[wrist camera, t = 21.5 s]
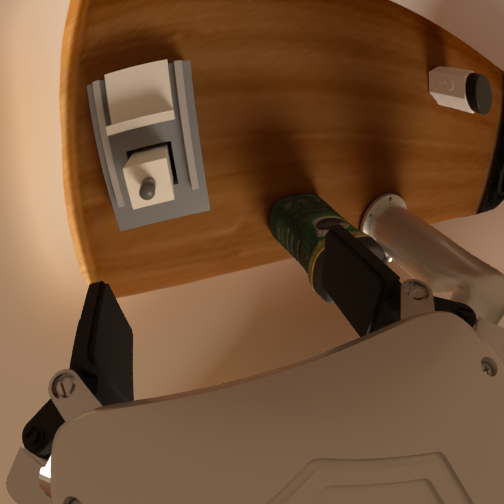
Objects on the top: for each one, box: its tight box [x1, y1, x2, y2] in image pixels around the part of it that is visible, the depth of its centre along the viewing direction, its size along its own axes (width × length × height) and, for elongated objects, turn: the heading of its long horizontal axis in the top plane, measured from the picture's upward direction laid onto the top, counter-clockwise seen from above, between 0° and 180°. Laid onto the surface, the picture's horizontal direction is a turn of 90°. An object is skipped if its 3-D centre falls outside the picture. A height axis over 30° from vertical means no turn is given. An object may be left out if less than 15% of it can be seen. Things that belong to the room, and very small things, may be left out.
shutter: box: [104, 59, 175, 136], centre depth 22 cm, size 7×7×4 cm
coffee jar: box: [270, 194, 387, 304], centre depth 37 cm, size 10×8×19 cm
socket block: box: [87, 60, 210, 231], centre depth 29 cm, size 19×12×6 cm, turn 4°
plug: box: [123, 142, 175, 210], centre depth 27 cm, size 4×4×14 cm
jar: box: [429, 66, 492, 115], centre depth 32 cm, size 9×8×12 cm
